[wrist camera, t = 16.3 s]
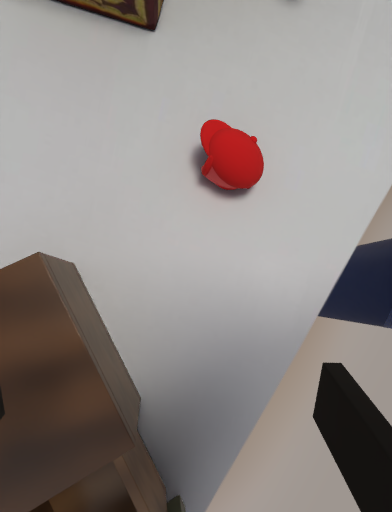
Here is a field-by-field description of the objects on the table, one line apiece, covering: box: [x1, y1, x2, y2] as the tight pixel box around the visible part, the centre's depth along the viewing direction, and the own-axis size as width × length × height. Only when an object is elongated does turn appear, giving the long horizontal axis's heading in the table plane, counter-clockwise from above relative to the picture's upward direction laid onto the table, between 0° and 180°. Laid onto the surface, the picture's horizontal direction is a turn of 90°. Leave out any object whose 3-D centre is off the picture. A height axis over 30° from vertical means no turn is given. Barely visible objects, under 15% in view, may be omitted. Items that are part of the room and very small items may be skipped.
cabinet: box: [0, 252, 141, 512], centre depth 25 cm, size 16×13×10 cm
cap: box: [200, 120, 264, 190], centre depth 32 cm, size 8×6×6 cm
